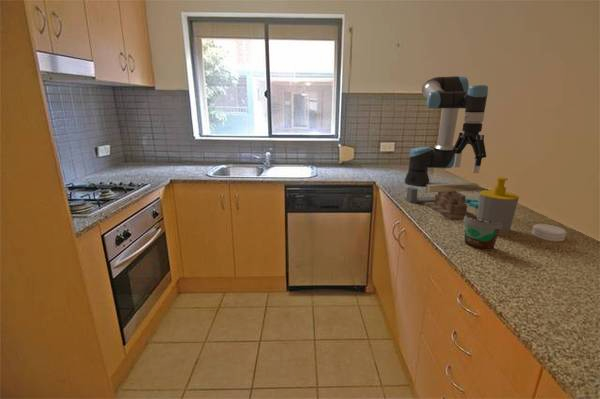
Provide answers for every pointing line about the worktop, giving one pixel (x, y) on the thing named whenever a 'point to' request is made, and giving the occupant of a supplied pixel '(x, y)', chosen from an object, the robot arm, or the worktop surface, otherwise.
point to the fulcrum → (450, 205)
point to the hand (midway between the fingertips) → (465, 170)
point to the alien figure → (472, 202)
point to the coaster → (548, 232)
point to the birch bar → (451, 187)
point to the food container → (481, 232)
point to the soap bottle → (498, 206)
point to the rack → (413, 196)
